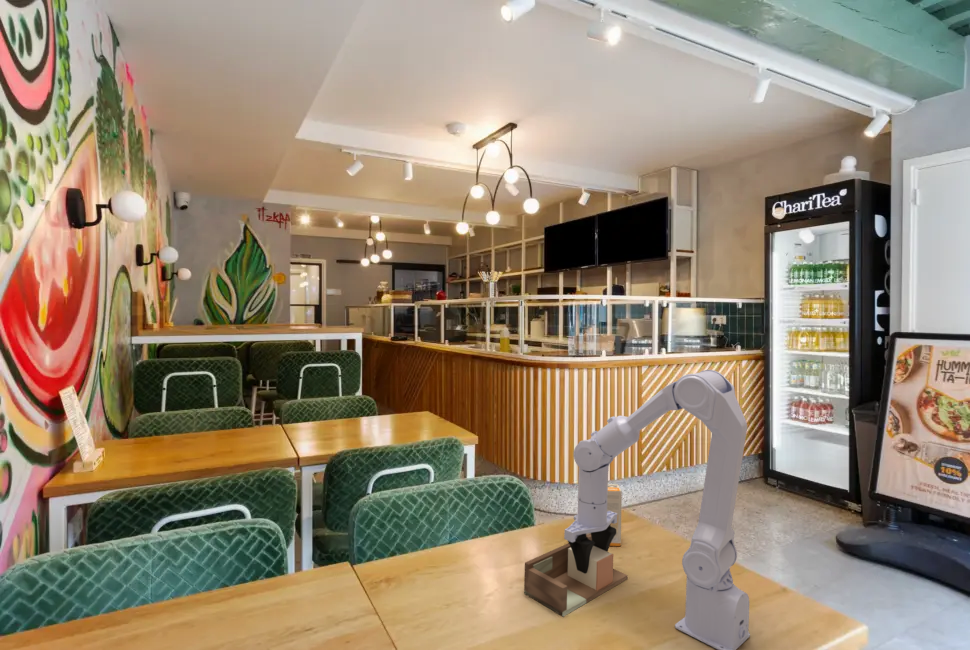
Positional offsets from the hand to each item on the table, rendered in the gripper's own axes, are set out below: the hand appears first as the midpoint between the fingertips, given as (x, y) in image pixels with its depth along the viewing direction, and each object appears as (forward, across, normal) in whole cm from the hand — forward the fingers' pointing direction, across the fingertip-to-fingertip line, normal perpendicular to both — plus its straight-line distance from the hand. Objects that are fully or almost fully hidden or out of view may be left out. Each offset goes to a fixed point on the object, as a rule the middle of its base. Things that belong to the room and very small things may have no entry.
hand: (590, 566), depth 104 cm
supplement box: (+3, -17, -10) cm, 20 cm away
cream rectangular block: (+2, 0, 0) cm, 2 cm away
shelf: (+3, +4, -1) cm, 5 cm away
